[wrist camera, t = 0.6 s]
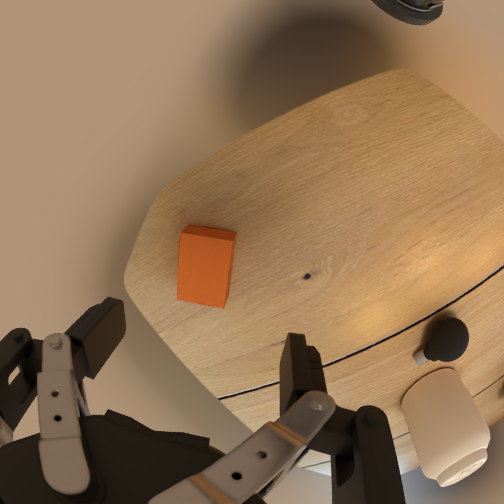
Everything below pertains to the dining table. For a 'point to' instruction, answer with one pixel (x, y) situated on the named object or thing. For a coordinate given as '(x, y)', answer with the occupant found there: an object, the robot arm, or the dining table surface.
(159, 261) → the dining table surface
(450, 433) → the can
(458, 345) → the light bulb
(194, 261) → the pad loose
